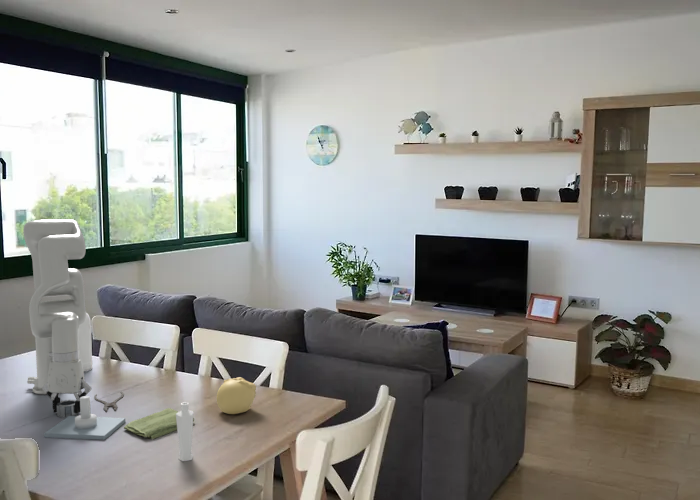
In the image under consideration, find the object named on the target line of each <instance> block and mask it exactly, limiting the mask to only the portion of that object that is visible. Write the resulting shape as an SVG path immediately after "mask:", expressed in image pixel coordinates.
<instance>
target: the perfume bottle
mask: <svg viewBox="0 0 700 500" xmlns="http://www.w3.org/2000/svg"><path fill="white" fill-rule="evenodd" d="M189 404H190V402H186V401H183V402H181V403H180V410H179V411H178V413H176V421H177V430H176V431H177V440H178V442H177V443H178V450H179V454H178V460H180V462H186V461H192V460H193V458H194V455H193V450H192V449H193V448H192V447H193V430H194V429H193V428H194V427H193V426H194V421H193V418H194V411H193V410H191V409H189Z"/></svg>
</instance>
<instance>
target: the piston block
mask: <svg viewBox="0 0 700 500" xmlns="http://www.w3.org/2000/svg"><path fill="white" fill-rule="evenodd" d="M125 423H126V417H103V416H97V414H95V413H91V396H89V395H86V396H83V397H80V412H79V414H78V415H75V416H68V417H64V419H62V420H61V421H59V422H58V423H57V424H55V425H54V426H53V427H51V428H50V429H47V430H46V431H45V432H44V433H43V438H51V439H52V438H53V439H54V438H55V439H56V438H58V439H78V440H79V439H80V440H82V439H83V440H99V441H100V440H103V441H105V440H106V439H107V438H108V437H110V436H111V435H112V434H114V432H116V430H118V429H119V428H120V427H121V426H123V425H124V424H125Z"/></svg>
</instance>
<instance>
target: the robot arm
mask: <svg viewBox="0 0 700 500" xmlns="http://www.w3.org/2000/svg"><path fill="white" fill-rule="evenodd" d="M81 229H82V228H80V224H79V223H78V221H77V220H74V219H67V218H65V219H64V218H63V219H61V218H60V219H36V220H30V221H28V222H26V223H25V224H24V225H23V231H22V232H23V238H24V242H25V245H26V247H27V249H28V251H29V253H30V255H31V259H32V260H31V261H32V271H33V272H32V273H33V285H34V293H33V294H32V296H31V299H30V301H29V306H28V307H29V308H28V309H29V310H28V311H29V323H30V331H31V334H32V336H33V337H34V340H35V341H34V342H35V358H36V364H35V365H36V377H35V376H28V377H27V381H26V382H27V384H28V385H30V384H31V385H34V386H33V387H32V392H33V393H35V394H36V395H47V396H48V397H49V398H50V400H51V401H52V403H51V404H52V409H53V414H55V413H56V414H57V403H59V402H61V401H62V399H61V397H60V394H67V395H73V396H74V397H75V400H76V401H75V413H77V415H79V414H80V397H83V396H88V394H89V393H90V392H91V391H92V386H91V385H89V383H87V382H86V380H85V371H84V372H83V366H82V362H81V359H79V350H78V328H79V325H80V324H82V323H84V321H85V318H86V313H87V309H86V308H87V307H86V296H85V283H84V277H83V274H82V272H81V271H80V270H79V269H78V268H74V267H73V268H71V267H70V268H69V263H68V262H69V261H68V260H81V259H83V258H85V255H86V248H87V247H86V241H85V238H84V235H83V232H82V230H81ZM63 296H68V297H70V298H68V299H54V300H52V299H51V300H45V301H41V300H42V299H43V298H51V297H63ZM83 390H84V391H83ZM78 413H79V414H78Z"/></svg>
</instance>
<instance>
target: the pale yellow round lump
mask: <svg viewBox="0 0 700 500" xmlns="http://www.w3.org/2000/svg"><path fill="white" fill-rule="evenodd" d="M256 390H257V385H256V384H255V383H254V382H250V381H248V380H246V379H245V378H243V377H241V376H238V377H236V378H235V377H233V378H227V379H224V380H223V383H222V384H221V385H220V386H219V388H218V390H217V393H216V397H215V398H216V404H217V407H218V408H219V410H220V411H221V412H222V413H224V414H227V415H236V414H242V413H245V412H247V411H249V410H250V408H251V407H252V406H253V403H254V399H255V398H256V395H257V392H256Z"/></svg>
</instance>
